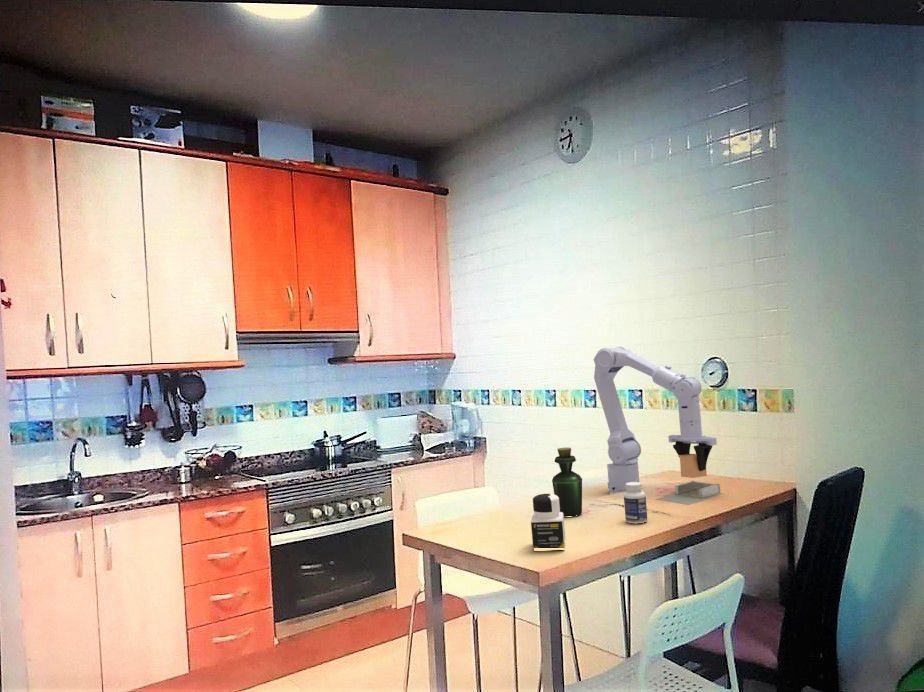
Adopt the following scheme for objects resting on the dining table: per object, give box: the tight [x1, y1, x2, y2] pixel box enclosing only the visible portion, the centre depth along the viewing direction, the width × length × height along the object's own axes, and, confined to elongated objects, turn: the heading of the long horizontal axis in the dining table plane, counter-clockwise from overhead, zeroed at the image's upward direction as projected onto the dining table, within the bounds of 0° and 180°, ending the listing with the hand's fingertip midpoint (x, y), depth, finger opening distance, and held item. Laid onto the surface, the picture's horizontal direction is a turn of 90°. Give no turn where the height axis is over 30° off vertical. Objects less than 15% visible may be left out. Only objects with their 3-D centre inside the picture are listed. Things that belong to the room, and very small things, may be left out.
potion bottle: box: [551, 446, 583, 517], centre depth 183 cm, size 8×8×18 cm
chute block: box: [678, 453, 708, 479], centre depth 189 cm, size 6×5×6 cm
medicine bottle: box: [530, 493, 567, 549], centre depth 155 cm, size 7×7×12 cm
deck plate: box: [655, 492, 725, 506], centre depth 187 cm, size 16×11×1 cm
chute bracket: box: [674, 480, 721, 499], centre depth 189 cm, size 8×9×2 cm
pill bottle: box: [623, 482, 648, 525], centre depth 170 cm, size 5×5×10 cm
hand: (694, 469), depth 189 cm, fingers closed on chute block, 5 cm apart
